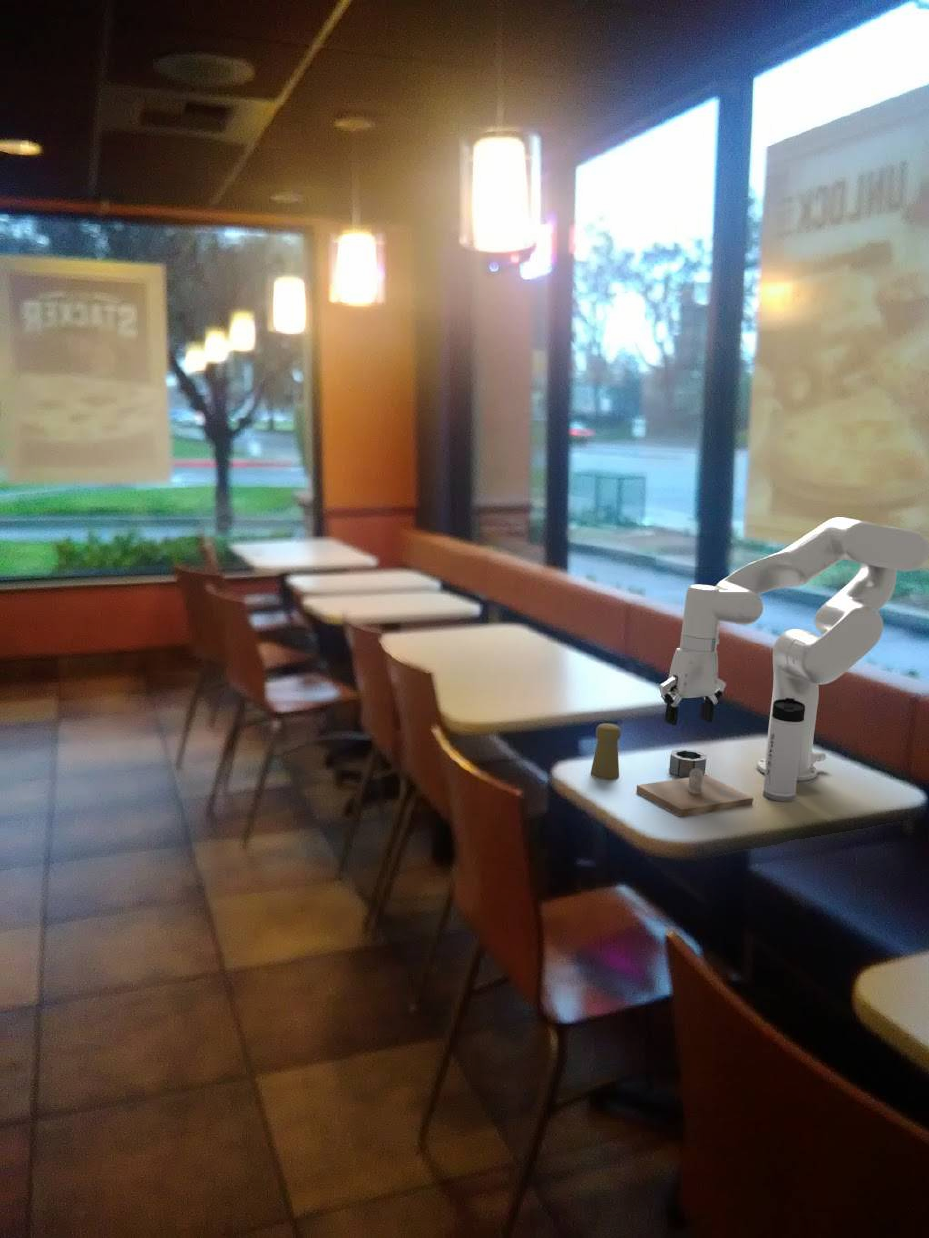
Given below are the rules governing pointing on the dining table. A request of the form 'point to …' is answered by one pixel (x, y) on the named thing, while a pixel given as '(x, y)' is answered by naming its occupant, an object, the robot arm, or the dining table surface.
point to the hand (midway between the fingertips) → (688, 721)
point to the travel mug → (784, 750)
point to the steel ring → (686, 762)
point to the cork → (606, 752)
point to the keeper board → (694, 795)
